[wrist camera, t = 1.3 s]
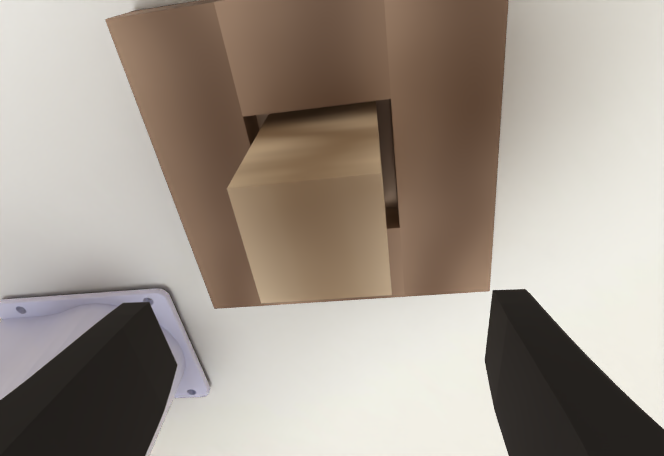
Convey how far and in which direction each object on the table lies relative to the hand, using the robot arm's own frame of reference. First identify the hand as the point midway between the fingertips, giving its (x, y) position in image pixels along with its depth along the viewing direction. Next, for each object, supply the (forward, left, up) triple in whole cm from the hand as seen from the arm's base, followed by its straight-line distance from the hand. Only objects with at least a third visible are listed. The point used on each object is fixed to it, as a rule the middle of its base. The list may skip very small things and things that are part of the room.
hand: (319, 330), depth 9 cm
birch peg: (0, 0, -9) cm, 9 cm away
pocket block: (0, 0, -10) cm, 10 cm away
